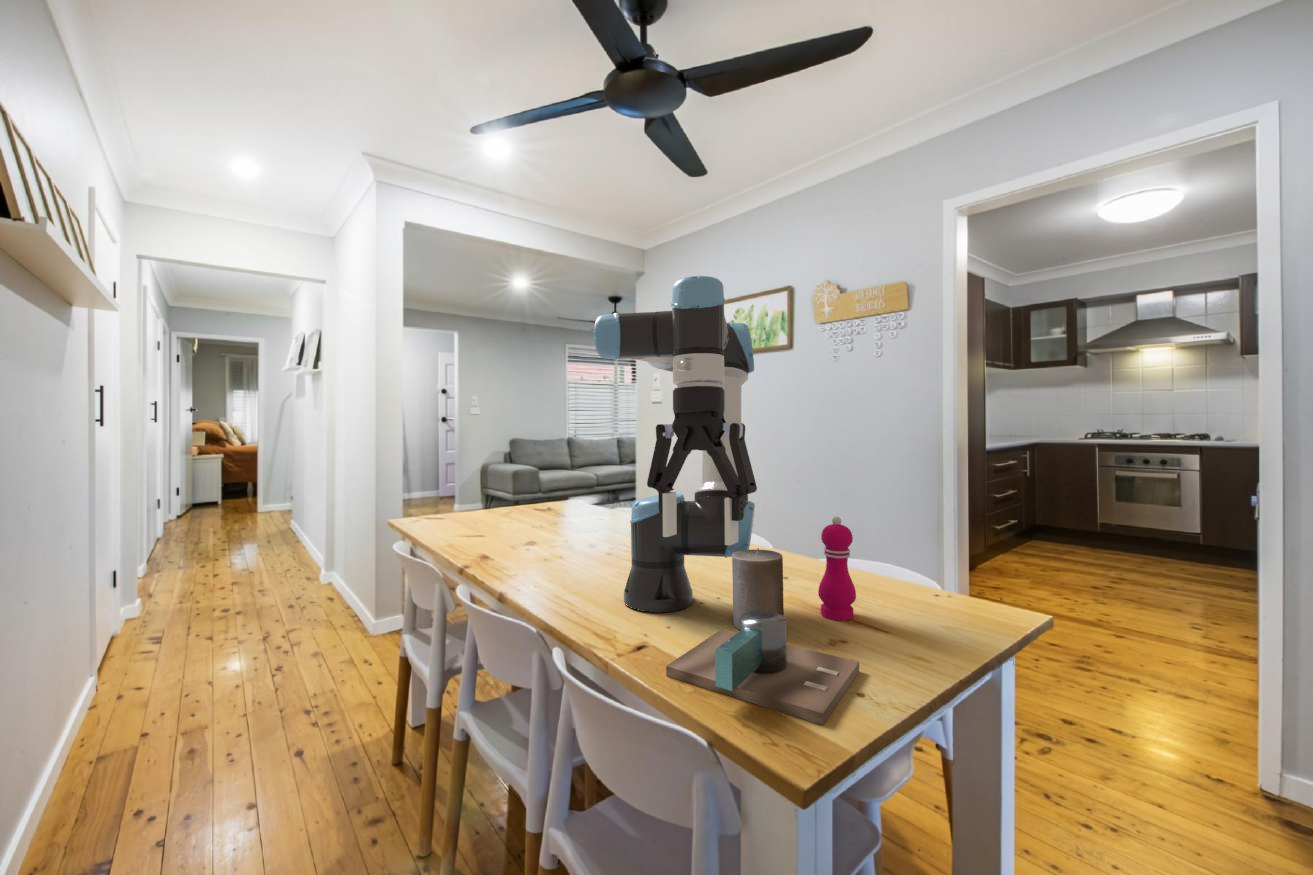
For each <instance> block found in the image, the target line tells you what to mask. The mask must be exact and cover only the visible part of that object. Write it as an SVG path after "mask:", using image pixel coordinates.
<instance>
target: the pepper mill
mask: <svg viewBox="0 0 1313 875" xmlns="http://www.w3.org/2000/svg"><path fill="white" fill-rule="evenodd" d="M831 522H832V524H828V525H826V526H825V527H824V528H823V529H822V530H821V535H820V536H821V537H820V540H821V541H822V544H823V545H824V546H825V547H824V548H823V554H824V556H825V562H826V564H825V571H824V575H823V576H822V579H821V580H820V583H819V586H818V590H817V591H818V597H819V599H820V600H821V602H822V603H821V604H820V614H821V616H822V617H824V618H826V619H829V620H832V621H839V620H840V622H841V621H842V622H843V621H844V620H845V621H849V620H852V619H853V618H854V613H855V612H854V611H855V610H854V607H853V606H852V604H853V603H855V601H856V599H857V593H856V587H855V585H854V582H853V580H852V578H851V575H850V572H849V566H848V562H849V561H848V559H849V558H850V556H851V553H850V552H851V549H849V547H850V546H851V545H852V543H853V540H854V539H853V532H852V531H851V529H850V528H849V527H847V526H846V525H843V524H842V519H841V517H840V516H833V517H832V519H831Z"/></svg>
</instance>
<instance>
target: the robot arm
mask: <svg viewBox="0 0 1313 875" xmlns="http://www.w3.org/2000/svg"><path fill="white" fill-rule="evenodd" d="M724 293H725V292H724V284H723V282H722V281H721V280H720V279H718V278H716V277H713V276H707V275H695V276H694V275H693V276H687V277H683V278H680V279H679V280H677V281H675V283H674V284H673V287H672V298H671V299H672V301H671V302H670V303H671V306H670V307H671V309H672V310H662V311H648V312H647V311H646V312H644V311H643V312H624V313H623V312H622V313H620V312H619V313H618V312H614V313H609V314H608V313H607V314H601V315H599V316H598V317H596V319H595V322H594V327H593V341H594V346H595V350H596V354H598V356H599V357H600V358H602V359H606V360H608V359H610V360H611V359H613V360H619V359H632V360H637V361H642V362H647V363H648V364H649V365H650V366H651V367H653V368H655V369H657V370H663V371H666V372H672V383H673V384H674V385H675V386H676V387H675V388H674V389H673V390H672V411H673V414H674V420H673V422H672V423H671V424H667V423H666V424H665V423H659V424H657V425H656V426H655V436H656V440H655V444H654V449H653V453H652V459H651V463H650V467H649V473H648V477H647V481H646V485H647V487H648V488H650V489H654V490H656V491H657V492H658V495H653V496H647V497H644V498H643V497H642V498H640V499H637V500H635V501H634V502H633V503H632V505H631V513H630V514H631V515H630V518H631V519H630V521H629V523H630V534H631V535H630V543H631V544H630V547H631V549H630V550H631V566H630V570H629V574H628V577H627V581H626V583H625V588H624V590H623V603H624V602H625V604H627V605H628V606H629V607H632V608H635V609H639V610H643V611H642V612H644V611H649V612H648V613H670V612H676V610H677V611H680V609H681V610H684V609H686V608H688V607H690V606H691V605H692V604H693V596H694V595H693V593H694V592H693V589H692V587H691V583H690V579H689V577H688V572H687V570H686V567H685V556H693V557H694V556H695V557H699V556H700V557H720V558H721V557H724V558H725V559H726V558H729V557H730V558H732V554H733V553H734V552H737V551H742V550H750V546H751V542H752V541H751V540H752V534H753V526H754V524H753V523H754V518H755V517H754V516H755V508H756V507H755V506H756V504H755V502H752V501H749V495H751V494H752V493H753V494H754V493H755V492H757V491H758V486H757V482H756V478H755V475H754V471H753V467H752V463H751V459H750V455H749V451H748V448H747V443H746V440H745V438H746V437H745V436H746V425H745V424H744V423H742V386H743V385H744V384H745V383H746V382H747V381H748V380H749V374H751V373H754V371H755V362H754V361H755V359H754V353H753V352H754V351H753V342H752V336H751V332H750V327H749V326H748V325H747V324H746V323H744V322H731V321H728V322H727V321H726V320H727V319H726V316H725V302H726V299H725V294H724ZM674 436H676V438H677V439H676V442H675V443H674V445H673V448H672V453H671V455H670V450H671V445H672V439H673V437H674ZM692 451H702V462H701V463H702V464H701V485H700V486H699V488H698V489H696V490H695V492H694V500H691V501H690V500H686V499H685V497H684V494H682V493H677V491H674V490H675V488H674V485H675V484H676V481H677V478H678V477H679V475H680V472H681V471H682V469H683V467H684V464H685V462H686V460H687V458H688V456H689V454H691V452H692ZM669 455H670V458H669ZM668 459H669V460H668ZM625 604H624V605H625ZM628 606H627V607H628ZM629 607H628V608H629ZM632 608H631V609H632ZM635 609H634V610H635ZM639 610H638V611H639Z"/></svg>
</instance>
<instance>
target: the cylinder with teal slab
mask: <svg viewBox="0 0 1313 875" xmlns="http://www.w3.org/2000/svg"><path fill="white" fill-rule="evenodd" d="M787 623H788V622H787V618H786V616H782V615H780V614H777V613H774V612H768V611H751V612H746V613H744V614H742V615H741V616H740V630H739V632H736V633H737V634H736V635H734V636H733V637H732V638H730V639H729V640H728V641H726V642H725V643H723V644H722V645H721V646H719V647H718V648H716V649H715V673H716V686H717V687H720V688H724V689H727V690H730V691H733V690H734V689H735V688H736V687H737V686H739V685H740V684H741V683H742V682H743V681H744V680H745V679H746V678H747V677H748V676H750V675H751V674H752V673H753V672H754V671H758V672H777V671H780V670H783V669H784V668H785V667H786V665H787V645H788V644H787V640H788V634H787V633H788V632H787Z"/></svg>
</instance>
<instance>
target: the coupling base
mask: <svg viewBox="0 0 1313 875" xmlns="http://www.w3.org/2000/svg"><path fill="white" fill-rule="evenodd" d="M737 633H738V632H735V631H731V630H727V629H720V630H718V631H716V632H715V633H714V634H711V635H710V636H709V637H708V638H706V639H705V640H702V641H701V642H700V643H699V644H697V645H696V646H694V647H692V648H691V649H690V650H688V651H687V652H685V653H683V654H682V655H680V656H679V657H678V658H676V659H675V660H673V661H671V662H670V663H668V664H666V666H665V668H666V673H665V676H666V677H669V678H673V679H676V680H679V681H682V682H685V683H687V684H692V685H695V686H698V687H701V688H704V689H708V690H711V691H714V692H716V693H720V694H723V695H726V696H730V697H733V698H736V699H738V700H741V701H745V702H749V703H752V704H754V705H757V706H761V707H764V708H767V709H771V710H774V711H777V712H780V713H782V714H787V715H789V716H792V717H795V718H799V719H802V720H805V721H809V722H812V723H815V724H817V725H820V726H824V725H825V723H826V722H827V720H828V718H829V717H830V716H831V714H832V712H834V710H835V708H836V707H837V705H838V703H840V701H841V699H842V698H843V697H844V695H845V693H846V692H847V690H848V689H849V687H850V686H851V685H852V683H853V681H854V680H855V678H856V677H857V675H858V674H859V673H860V661H857V660H853V659H851V658H850V659H849V658H844V657H842V656H841V657H840V656H837V655H832V654H829V653H825V652H821V651H820V652H819V651H815V650H810V649H808V648H802V647H799V646H794V645H790V644H787V665H786V667H785V668H784V669H783V670H780V671H777V672H758V671H754V672H753V673H752V674H751V675H750V676H748V677H747V678H746V679H745V680H744V681H743V682H742V683H741V684H740V685H739V686H737V687H736V688H735V689H734V690H733V691H730V690H727V689H724V688H720V687H717V686H716V673H715V649H716V648H718V647H719V646H721V645H722V644H723V643H725V642H726V641H728V640H729V639H730V638H732V637H733V636H734V635H736V634H737Z"/></svg>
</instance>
